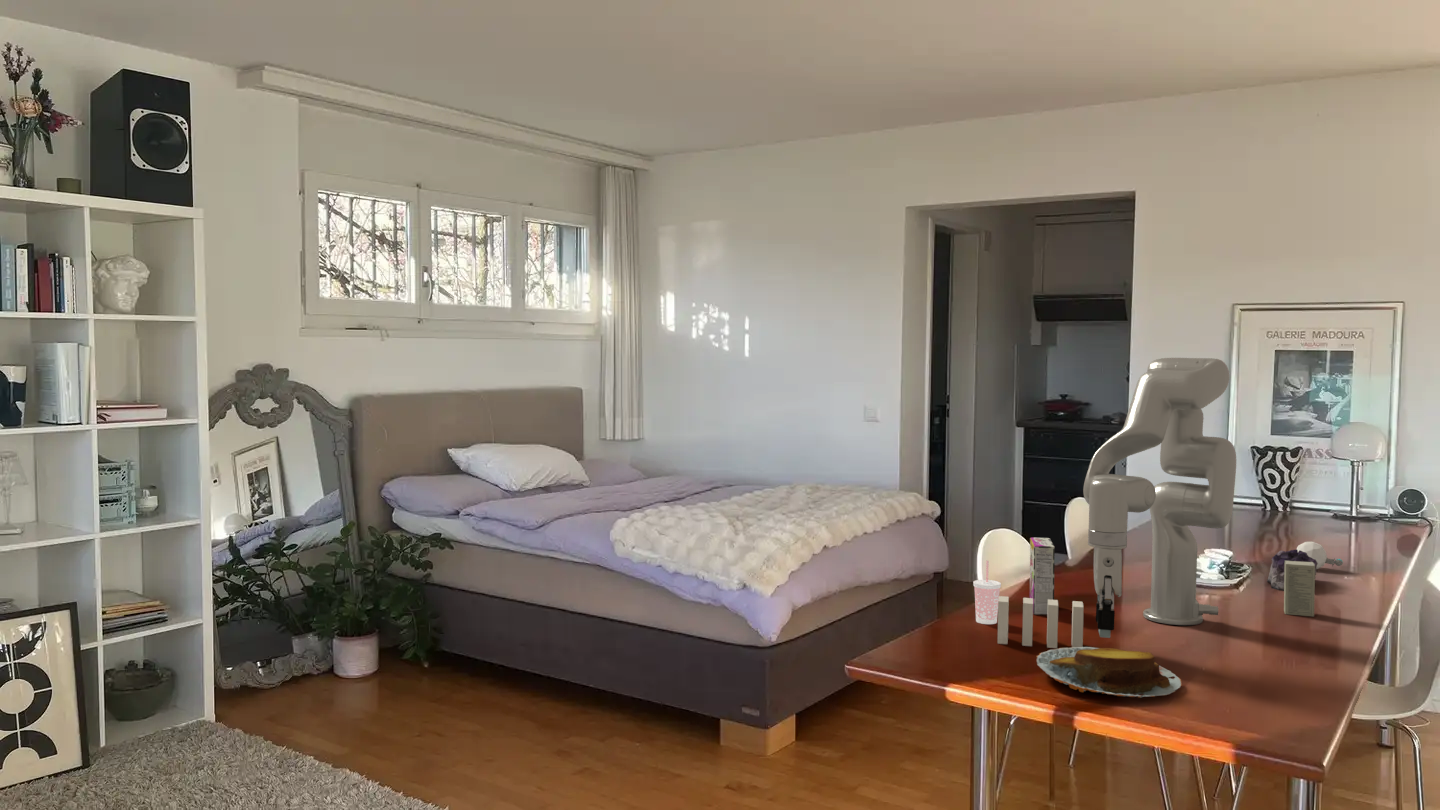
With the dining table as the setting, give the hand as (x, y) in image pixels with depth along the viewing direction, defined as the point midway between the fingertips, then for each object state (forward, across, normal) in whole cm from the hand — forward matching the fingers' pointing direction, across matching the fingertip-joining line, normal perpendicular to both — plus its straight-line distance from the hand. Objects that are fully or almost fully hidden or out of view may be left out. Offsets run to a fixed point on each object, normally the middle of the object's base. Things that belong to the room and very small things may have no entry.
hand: (1104, 625), depth 219 cm
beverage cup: (+5, +15, +24) cm, 29 cm away
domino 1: (+5, 0, +20) cm, 21 cm away
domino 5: (+2, 0, 0) cm, 2 cm away
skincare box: (+5, +44, -46) cm, 64 cm away
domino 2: (+5, 0, +15) cm, 16 cm away
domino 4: (+5, 0, +5) cm, 7 cm away
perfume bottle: (+4, +100, -63) cm, 118 cm away
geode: (+4, +78, -51) cm, 94 cm away
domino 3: (+5, 0, +10) cm, 11 cm away
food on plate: (+6, -22, +1) cm, 23 cm away
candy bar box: (+5, +30, +12) cm, 33 cm away
